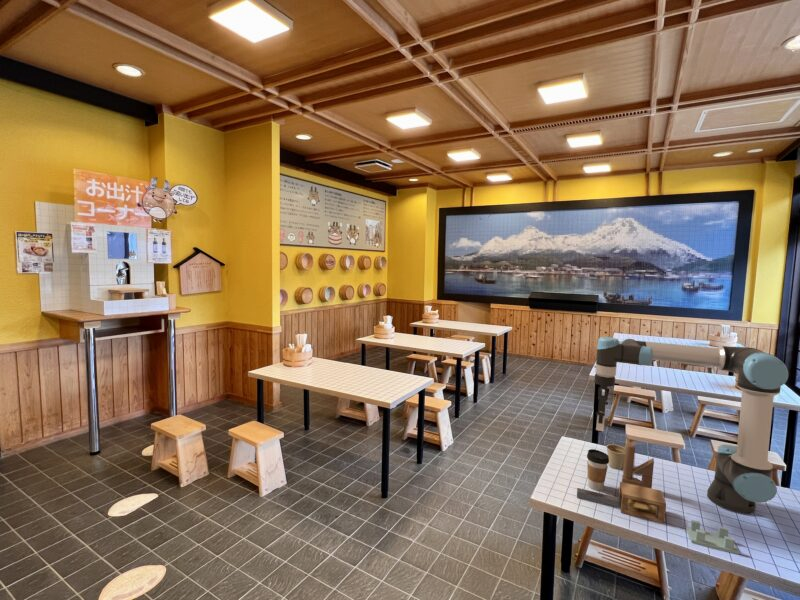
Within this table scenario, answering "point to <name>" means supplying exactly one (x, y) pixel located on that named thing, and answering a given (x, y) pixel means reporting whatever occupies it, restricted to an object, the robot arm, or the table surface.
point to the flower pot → (616, 456)
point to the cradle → (711, 538)
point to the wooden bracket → (637, 469)
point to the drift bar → (599, 498)
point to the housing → (643, 495)
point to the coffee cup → (597, 469)
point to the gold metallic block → (642, 506)
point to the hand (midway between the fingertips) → (600, 424)
